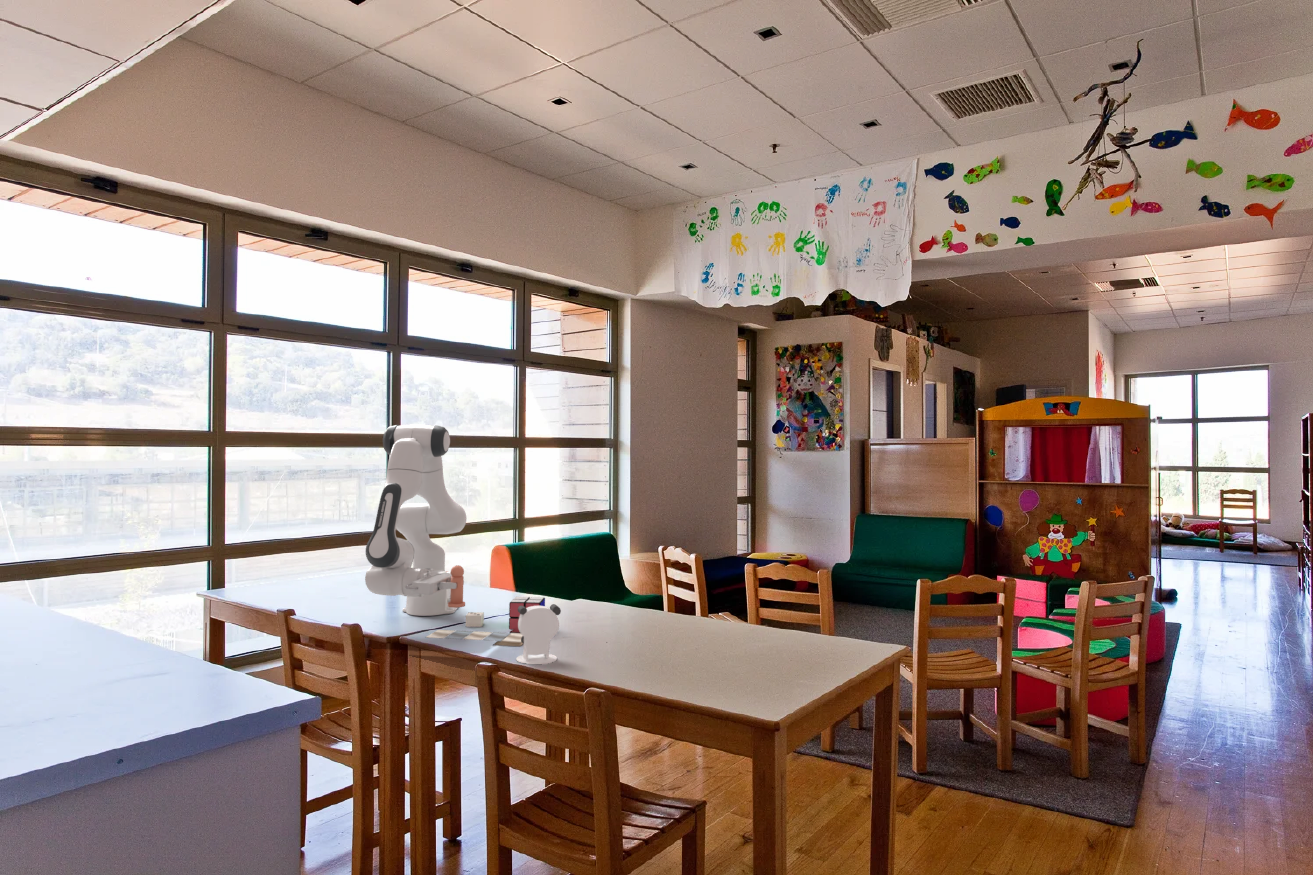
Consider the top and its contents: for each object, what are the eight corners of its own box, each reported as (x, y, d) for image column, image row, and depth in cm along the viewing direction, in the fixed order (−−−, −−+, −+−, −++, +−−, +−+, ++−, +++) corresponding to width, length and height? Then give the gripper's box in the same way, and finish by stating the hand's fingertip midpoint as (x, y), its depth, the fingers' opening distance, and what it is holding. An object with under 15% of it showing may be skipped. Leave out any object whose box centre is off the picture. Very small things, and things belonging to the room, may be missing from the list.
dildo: (451, 603, 252) (452, 563, 252) (467, 604, 251) (468, 564, 251) (445, 607, 246) (446, 566, 247) (461, 607, 246) (462, 566, 246)
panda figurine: (553, 652, 234) (554, 601, 234) (563, 662, 223) (564, 608, 224) (512, 655, 230) (513, 603, 230) (520, 666, 219) (521, 611, 219)
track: (438, 633, 255) (438, 629, 255) (530, 637, 252) (530, 633, 252) (424, 641, 244) (424, 637, 244) (520, 646, 241) (520, 641, 241)
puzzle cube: (539, 633, 258) (540, 602, 258) (508, 633, 258) (509, 601, 258) (544, 626, 268) (545, 596, 268) (514, 626, 268) (515, 596, 268)
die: (468, 627, 265) (468, 612, 265) (483, 627, 265) (483, 612, 265) (465, 630, 260) (465, 615, 260) (481, 630, 260) (481, 615, 260)
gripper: (402, 577, 240) (447, 579, 238) (430, 567, 260) (471, 569, 259) (402, 598, 240) (446, 600, 238) (430, 587, 260) (471, 588, 259)
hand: (459, 584), depth 249 cm, fingers closed on dildo, 4 cm apart
